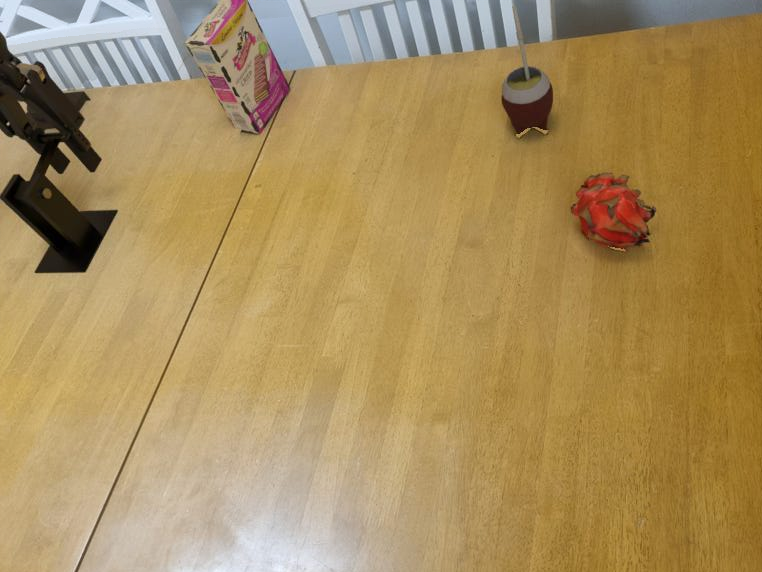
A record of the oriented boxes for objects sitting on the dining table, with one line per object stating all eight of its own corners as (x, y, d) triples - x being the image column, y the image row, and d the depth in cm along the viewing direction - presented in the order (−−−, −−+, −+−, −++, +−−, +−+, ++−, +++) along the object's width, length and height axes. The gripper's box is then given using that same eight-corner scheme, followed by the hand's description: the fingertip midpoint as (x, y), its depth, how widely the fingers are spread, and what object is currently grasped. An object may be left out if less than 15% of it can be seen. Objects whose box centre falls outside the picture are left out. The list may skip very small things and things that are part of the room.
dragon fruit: (587, 209, 96) (646, 270, 91) (542, 214, 91) (603, 279, 86) (619, 154, 91) (685, 216, 86) (575, 156, 85) (641, 222, 80)
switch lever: (49, 140, 108) (36, 129, 106) (77, 138, 107) (65, 126, 105) (18, 208, 103) (4, 197, 101) (47, 207, 102) (34, 196, 100)
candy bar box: (261, 135, 116) (209, 45, 103) (236, 132, 118) (181, 43, 105) (293, 88, 121) (247, -4, 108) (268, 86, 123) (220, -5, 109)
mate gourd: (532, 149, 102) (514, 56, 90) (494, 127, 106) (472, 35, 94) (569, 119, 104) (557, 23, 91) (531, 98, 108) (514, 4, 95)
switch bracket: (73, 216, 115) (14, 155, 105) (122, 214, 113) (66, 152, 103) (39, 277, 109) (-27, 218, 99) (89, 276, 107) (27, 217, 97)
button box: (26, 135, 131) (10, 117, 127) (46, 104, 135) (31, 86, 131) (73, 131, 128) (57, 113, 125) (92, 101, 132) (77, 82, 129)
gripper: (-114, 54, 92) (20, 187, 111) (1, 41, 87) (120, 182, 107) (-82, 17, 96) (42, 152, 115) (30, 2, 91) (140, 146, 110)
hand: (80, 166), depth 111 cm, fingers closed on switch lever, 5 cm apart
